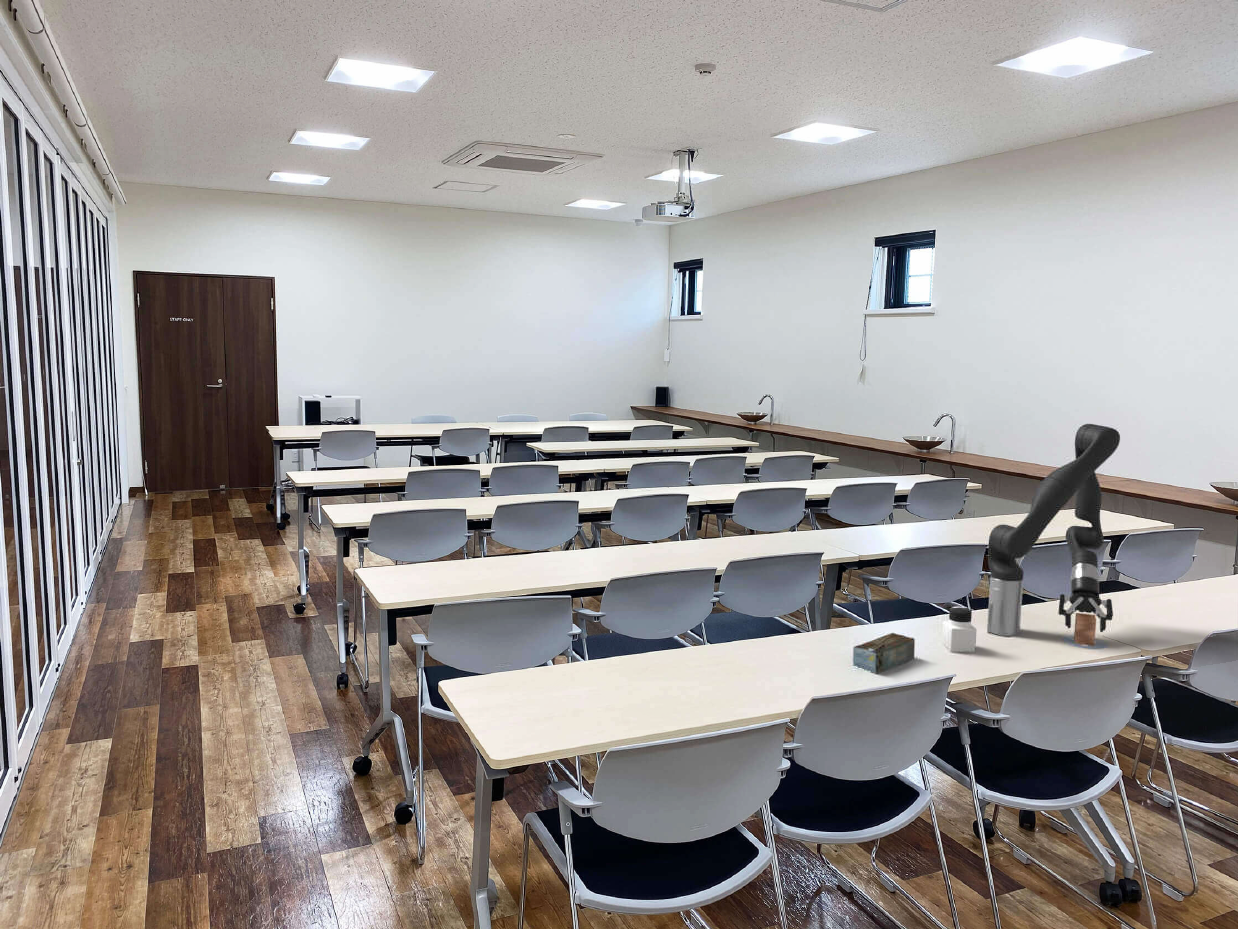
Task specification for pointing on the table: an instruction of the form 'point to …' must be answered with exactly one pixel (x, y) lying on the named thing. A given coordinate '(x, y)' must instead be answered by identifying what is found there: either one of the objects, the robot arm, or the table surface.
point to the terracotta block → (1085, 629)
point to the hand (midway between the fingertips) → (1085, 629)
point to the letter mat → (1097, 645)
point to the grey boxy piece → (884, 652)
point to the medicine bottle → (959, 631)
